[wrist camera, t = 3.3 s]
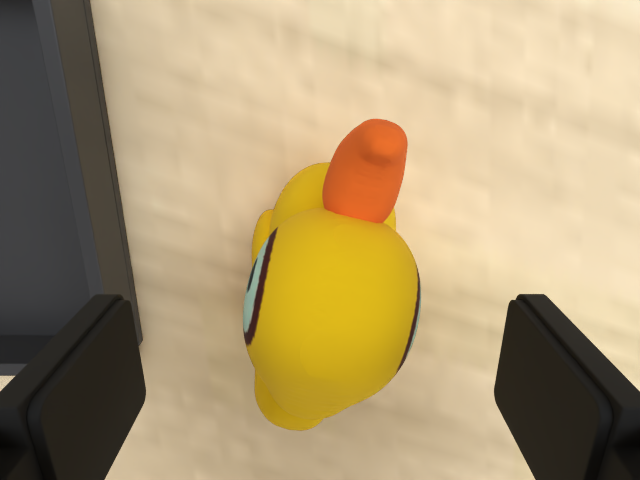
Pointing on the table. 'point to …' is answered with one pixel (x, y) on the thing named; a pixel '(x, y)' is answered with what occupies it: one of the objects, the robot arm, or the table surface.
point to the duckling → (332, 283)
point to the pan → (54, 178)
